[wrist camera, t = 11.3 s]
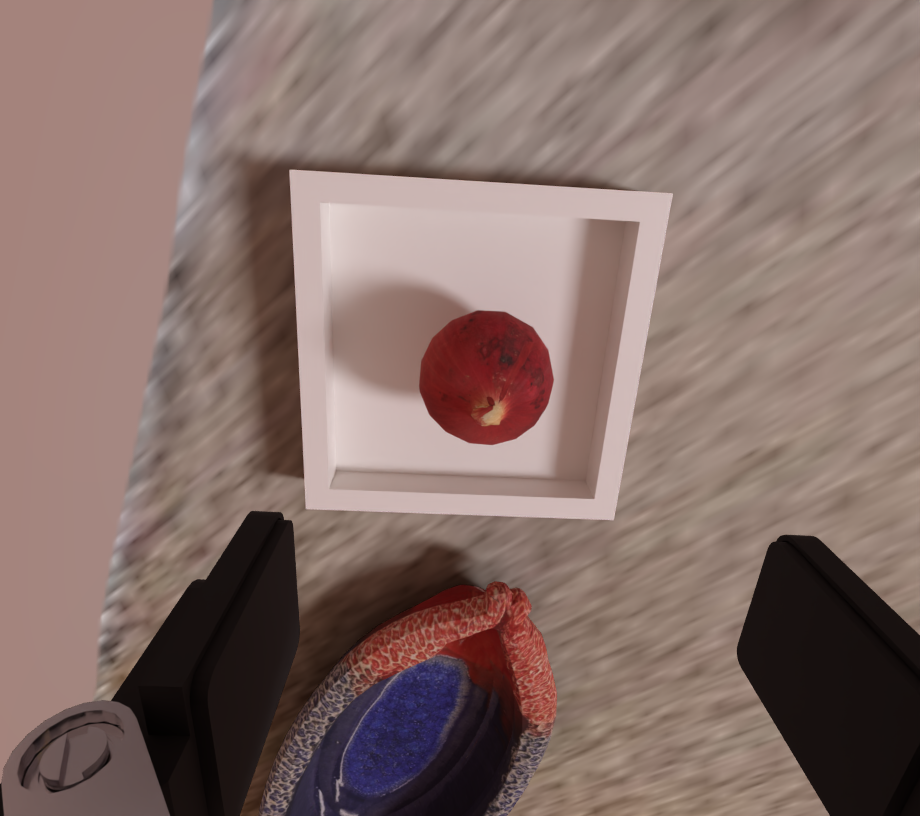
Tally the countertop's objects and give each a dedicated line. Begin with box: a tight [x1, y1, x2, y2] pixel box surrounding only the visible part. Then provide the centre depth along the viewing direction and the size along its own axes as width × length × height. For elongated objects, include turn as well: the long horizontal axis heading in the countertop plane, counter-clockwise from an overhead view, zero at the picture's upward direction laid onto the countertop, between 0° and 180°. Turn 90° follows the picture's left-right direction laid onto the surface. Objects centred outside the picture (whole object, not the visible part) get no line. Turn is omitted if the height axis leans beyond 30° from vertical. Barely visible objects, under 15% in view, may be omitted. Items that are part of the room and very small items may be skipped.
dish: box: [259, 582, 557, 816], centre depth 36 cm, size 16×31×5 cm, turn 151°
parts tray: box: [289, 170, 673, 520], centre depth 27 cm, size 16×16×3 cm
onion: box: [419, 310, 554, 445], centre depth 24 cm, size 6×6×8 cm
